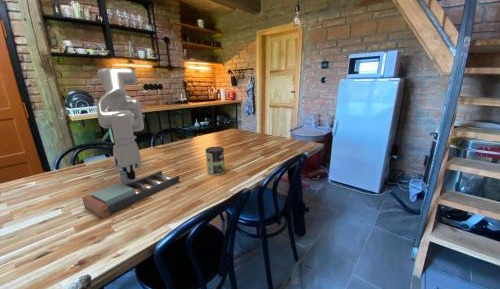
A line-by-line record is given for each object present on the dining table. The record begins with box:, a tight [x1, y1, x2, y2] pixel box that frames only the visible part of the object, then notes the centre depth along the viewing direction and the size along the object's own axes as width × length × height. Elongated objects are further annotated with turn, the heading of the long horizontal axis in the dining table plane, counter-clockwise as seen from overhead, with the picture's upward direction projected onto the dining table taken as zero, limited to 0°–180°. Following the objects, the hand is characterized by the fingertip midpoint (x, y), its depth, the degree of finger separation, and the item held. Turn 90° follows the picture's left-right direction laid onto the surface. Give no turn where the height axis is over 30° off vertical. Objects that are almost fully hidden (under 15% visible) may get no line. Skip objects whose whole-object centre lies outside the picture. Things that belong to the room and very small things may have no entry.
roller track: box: [81, 170, 181, 219], centre depth 104 cm, size 15×38×5 cm, turn 148°
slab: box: [90, 182, 136, 206], centre depth 95 cm, size 12×12×3 cm
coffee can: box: [205, 146, 226, 176], centre depth 127 cm, size 10×10×14 cm
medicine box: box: [118, 166, 138, 185], centre depth 116 cm, size 8×4×9 cm, turn 5°
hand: (131, 178), depth 102 cm, fingers closed
